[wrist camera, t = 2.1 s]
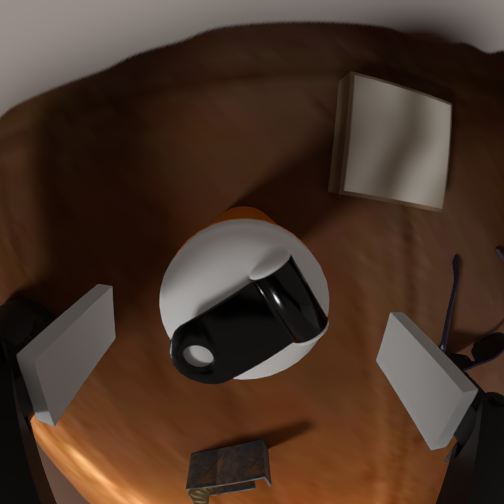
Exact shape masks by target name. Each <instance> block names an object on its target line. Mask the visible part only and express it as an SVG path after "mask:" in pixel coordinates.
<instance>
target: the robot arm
mask: <svg viewBox="0 0 504 504" xmlns="http://www.w3.org/2000/svg"><path fill="white" fill-rule="evenodd" d="M115 338H116V337H115V324H114V309H113V289H112V286H109V285H102V284H97V285H96V286H95V287H94V288H92V289H91V290H90V291H89V292H88V293H86V294H85V295H84V296H83V297H82V298H80V299H79V300H78V301H77V302H76V303H74V304H73V305H72V306H71V307H70V308H69V309H67V310H66V311H65V312H64V313H63V314H61V315H60V316H59V317H58V318H57V319H56V318H55V317H54V316H53V315H52V314H51V313H50V312H48V311H47V310H46V309H45V308H43V307H42V306H40V305H39V304H37V303H35V302H33V301H31V300H28V299H24V298H14V299H11V300H9V301H7V302H6V303H4V304H3V305H1V306H0V504H57V503H56V501H55V498H54V496H53V493H52V491H51V488H50V485H49V482H48V480H47V477H46V474H45V471H44V468H43V465H42V462H41V459H40V456H39V452H38V449H37V445H36V442H35V438H34V434H33V430H32V426H31V422H30V420H31V419H32V417H33V416H34V414H35V415H36V418H37V420H39V421H42V422H44V423H47V424H49V425H52V426H55V425H56V423H57V422H58V420H59V419H60V417H61V416H62V414H63V413H64V411H65V410H66V408H67V407H68V405H69V404H70V402H71V401H72V399H73V398H74V396H75V395H76V393H77V392H78V391H79V389H80V388H81V386H82V385H83V383H84V382H85V380H86V379H87V377H88V376H89V375H90V373H91V372H92V370H93V369H94V367H95V366H96V365H97V363H98V362H99V360H100V359H101V358H102V356H103V355H104V353H105V352H106V351H107V349H108V348H109V346H110V345H111V344H112V342H113V341H114V340H115ZM376 361H377V363H378V364H379V366H380V367H381V369H382V371H383V372H384V374H385V375H386V377H387V379H388V380H389V382H390V383H391V385H392V387H393V388H394V390H395V391H396V393H397V395H398V396H399V398H400V399H401V401H402V403H403V404H404V406H405V408H406V409H407V411H408V413H409V414H410V416H411V417H412V419H413V421H414V422H415V424H416V426H417V427H418V429H419V431H420V433H421V434H422V436H423V438H424V439H425V441H426V443H427V444H428V446H429V448H430V450H434V449H439V448H443V447H446V446H447V445H448V443H449V441H450V440H451V438H452V437H453V435H454V436H455V438H456V439H457V442H456V444H455V446H454V447H453V449H452V450H451V452H450V453H449V455H448V456H447V458H446V459H445V462H447V461H448V459H449V458H450V461H449V465H448V468H447V472H446V475H445V478H444V481H443V485H442V488H441V491H440V493H439V496H438V499H437V502H436V504H504V396H503V395H501V394H499V393H495V392H487V393H485V392H484V391H483V390H482V389H481V388H480V386H479V385H478V384H477V383H476V382H475V381H474V380H473V379H472V378H471V377H470V376H469V375H468V374H467V373H466V372H465V371H464V370H463V369H462V368H461V366H460V365H459V364H457V363H456V362H454V361H452V360H451V359H449V358H448V357H447V356H446V355H445V354H444V353H443V352H442V351H441V350H440V349H439V348H438V347H437V346H436V345H435V344H434V342H433V341H432V340H431V339H430V338H429V337H428V336H427V335H426V334H425V333H424V332H423V331H422V330H421V329H420V328H419V327H418V326H417V325H416V324H414V323H413V322H412V321H411V320H410V319H409V318H408V317H407V316H406V315H405V314H404V313H396V312H390V316H389V319H388V323H387V327H386V330H385V333H384V337H383V340H382V343H381V347H380V350H379V353H378V356H377V359H376Z"/></svg>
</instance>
